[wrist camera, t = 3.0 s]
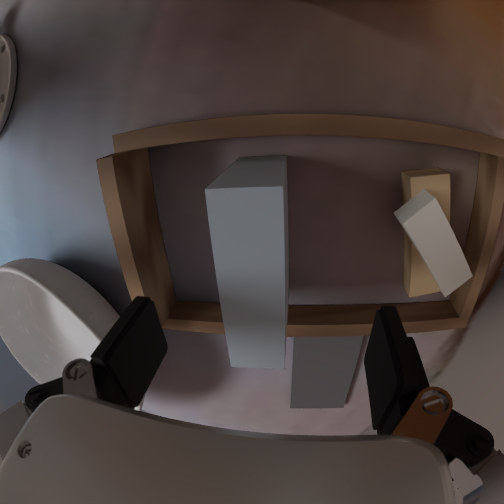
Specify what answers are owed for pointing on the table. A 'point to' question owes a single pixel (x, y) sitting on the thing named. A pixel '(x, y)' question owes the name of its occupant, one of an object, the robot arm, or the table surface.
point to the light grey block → (252, 258)
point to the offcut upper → (434, 241)
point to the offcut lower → (415, 269)
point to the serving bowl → (50, 317)
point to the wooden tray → (299, 316)
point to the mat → (323, 370)
